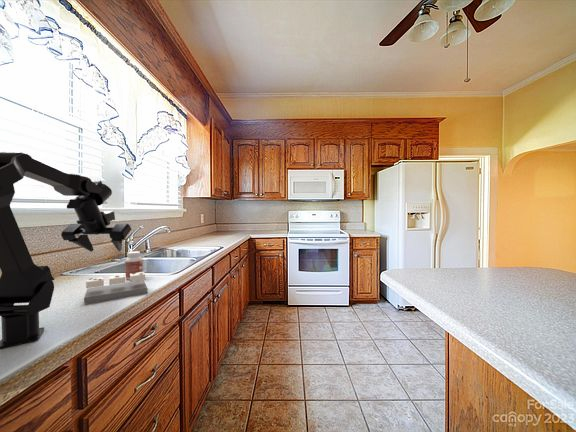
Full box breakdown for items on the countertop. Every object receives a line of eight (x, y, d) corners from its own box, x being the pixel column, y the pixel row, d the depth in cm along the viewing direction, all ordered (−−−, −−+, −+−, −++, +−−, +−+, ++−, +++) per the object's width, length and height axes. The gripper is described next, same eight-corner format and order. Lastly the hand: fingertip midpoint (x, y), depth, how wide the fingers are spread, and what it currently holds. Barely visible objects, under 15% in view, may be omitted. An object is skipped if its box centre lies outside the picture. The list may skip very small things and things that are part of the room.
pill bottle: (142, 278, 104) (142, 252, 104) (125, 280, 101) (125, 254, 101) (142, 275, 109) (141, 250, 109) (125, 277, 106) (125, 251, 106)
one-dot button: (125, 282, 85) (125, 276, 85) (109, 284, 82) (109, 278, 82) (124, 279, 88) (124, 273, 88) (109, 281, 86) (109, 275, 86)
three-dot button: (103, 285, 81) (103, 279, 81) (86, 288, 79) (86, 281, 79) (103, 282, 85) (103, 276, 85) (87, 284, 82) (87, 278, 82)
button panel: (147, 293, 86) (147, 287, 86) (84, 304, 76) (84, 297, 76) (144, 285, 95) (144, 280, 95) (87, 294, 85) (87, 288, 85)
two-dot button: (145, 279, 88) (145, 273, 88) (130, 281, 86) (130, 275, 86) (143, 277, 92) (143, 271, 92) (129, 279, 89) (129, 273, 89)
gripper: (131, 200, 85) (143, 236, 94) (73, 200, 83) (91, 236, 92) (115, 219, 76) (130, 256, 84) (49, 219, 74) (71, 257, 83)
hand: (106, 250), depth 86 cm, fingers open, 9 cm apart
